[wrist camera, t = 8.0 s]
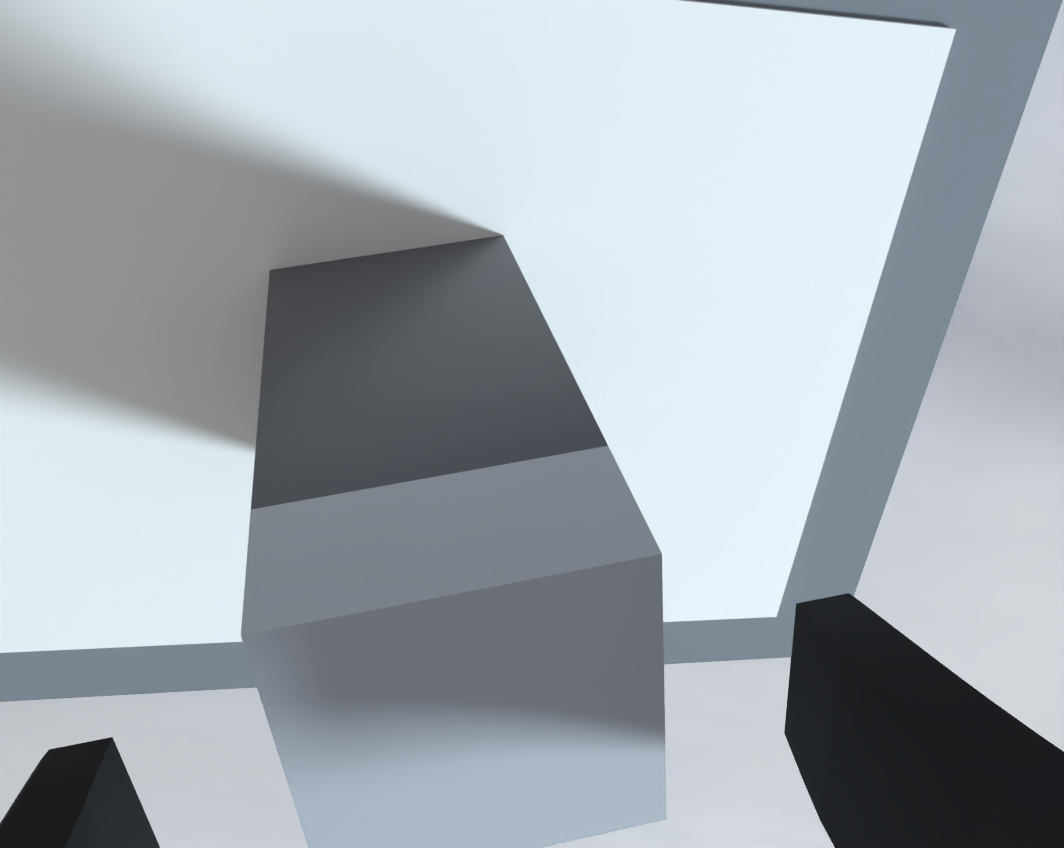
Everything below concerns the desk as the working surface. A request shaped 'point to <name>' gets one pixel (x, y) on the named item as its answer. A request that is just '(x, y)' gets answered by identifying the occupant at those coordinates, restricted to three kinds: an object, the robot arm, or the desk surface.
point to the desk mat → (466, 214)
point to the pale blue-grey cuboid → (446, 566)
